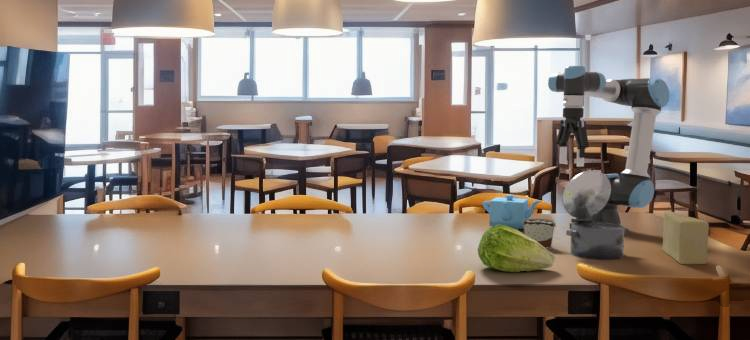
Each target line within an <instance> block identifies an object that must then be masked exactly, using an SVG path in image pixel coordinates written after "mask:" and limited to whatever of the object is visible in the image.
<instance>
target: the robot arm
mask: <svg viewBox="0 0 750 340" xmlns="http://www.w3.org/2000/svg"><path fill="white" fill-rule="evenodd" d="M606 79H607V78H606V77H605V75H604V74H603V73H601V72H597V71H586V67H585V66H583V65H568V66H565V68H564V72H555V73H551V75H549V76H548V80H547V81H548V83H547V85H548V86H547V87H548V88H549V90H550V91H551V92H554V93H563V98H562V100H563V102H562V103H563V104H562V105H563V108H562V117H563V118H565V120H563V119H562V120H560V122H559V125H560V126H559V130H558V135H557V139H556V142H555V143H556V144H555V145H557V146H558V147H559V154H558V155H559V157H558V159H559V160H558V163H559V164H561V165H562V164H567V157H568V145H567V144H568V141H569V139H570V136H571V134H573V135H574V138H575V140H576V141H575V142H576V144H577V148H576V167H578V168H580V167H585V156H586V152H585V151H586V149H587V148H590V144H589V140H588V139H589V138H588V134H587V122H586V121H583V120H582V121H581V119H582V118H584V106H585V97H586V96H587V97H593V98H598V99H602V100H603V101H605V102H607V103H612V104H618V105H621V106H625V107H631V108H630V110H631V112H632V113H633V121H632V125H631V131H630V138H629V143H628V144H629V145H628V151H627V157H626V163H625V169H624V170H622V171H621V172H620V175H619V173H606V174H605V173H603V174H604V175H605V176H606V177H607V178H608V179H609V181H610V184H611V194H610V197H609V200H608V202H607V203H606V205H605V206H604V207H603V209H602V210H600V211H599V212H598V213H597V214H595V215H593V216H591V217H588V218H592V219H593V221H592V222H602V223H611V224H617V225H620V226H622V222H621V218H620V215H619V212H618V207H619V206H622V207H629V208H634V209H636V208H638V209H642V208H643V209H644V208H645V207H647V206H648V205H649V204H651V201H652V199H653V198H654V194H655V185H654V183H653V182H652V181H651V175H649V173H648V168H649V162H650V156H651V150H652V143H653V138H654V137H653V136H654V131H655V125H656V119H657V116H658V115H660V113H661V111H662V108H663V107H664V108H665V107H666V106H667V105H668V103H669V100H670V89H669V87H668V84H667V82H665V80H663V79H661V78H656V77H655V78H654V77H649V78H647V77H645V78H626V79H607V80H606Z"/></svg>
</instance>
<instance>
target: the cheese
mask: <svg viewBox="0 0 750 340" xmlns="http://www.w3.org/2000/svg"><path fill="white" fill-rule="evenodd" d="M709 226H710V225H709V222H708V221H705V220H702V219H698V218H695V217H692V216H687V215H685V214H680V213H677V212H674V211H672V210H671V211H668V210H667V211H664V213H663V229H662V231H663V232H662V233H663V234H662V240H663V241H662V252H664V253H666V255H668V256H670V257H672V258H673V259H674V260H675V261H676V262H678V263H679V264H680V265H706V264H707V260H708V247H709V246H708V243H709V228H710V227H709Z"/></svg>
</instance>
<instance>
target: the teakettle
mask: <svg viewBox="0 0 750 340" xmlns="http://www.w3.org/2000/svg"><path fill="white" fill-rule="evenodd" d="M541 202H542V200H534V201H533V202H531V204H530V206H529V198H517V195H514V194H505V197H500V196H499V197H497V196H496V197H494V198H493V199H491V200H485V201H483V202H482V206H483V208H484V210H486V211H487V212H488V213H489V227H493V226H496V225H498V224H501V225H506V226H508V227H511V228H513V229H516V230H518V231H520V230H522V229H523V230H524V225H522V223H523V221H524V219H530V218H531V217H532V216H533V214H534V211H535V208H536V206H537V205H538V204H539V203H541Z"/></svg>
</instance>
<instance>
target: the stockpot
mask: <svg viewBox="0 0 750 340" xmlns="http://www.w3.org/2000/svg"><path fill="white" fill-rule="evenodd" d="M565 233H566V236H569V237H570V254H571V255H573V256H575V257H579V258H583V259H589V260H602V261H603V260H604V261H605V260H606V261H607V260H608V261H609V260H618V259H622V258H623V257H624V251H625V250H624V248H625V245H624V244H625V234H629V228H626V227H624V226H623V225H621V226H620V225H617V224H611V223H602V222H578V223H572V222H569V229H567V230H566V232H565Z"/></svg>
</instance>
